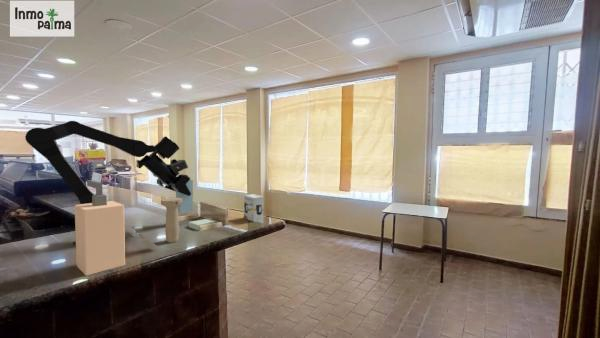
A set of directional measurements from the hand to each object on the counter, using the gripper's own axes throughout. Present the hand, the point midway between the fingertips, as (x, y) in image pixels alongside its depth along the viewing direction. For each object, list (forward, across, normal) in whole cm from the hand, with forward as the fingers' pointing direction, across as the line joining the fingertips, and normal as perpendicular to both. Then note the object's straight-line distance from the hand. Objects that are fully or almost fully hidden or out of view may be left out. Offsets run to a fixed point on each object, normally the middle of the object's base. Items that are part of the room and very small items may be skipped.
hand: (187, 194), depth 111 cm
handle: (0, -19, +19) cm, 27 cm away
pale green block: (+9, -9, +7) cm, 15 cm away
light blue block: (+4, 0, +6) cm, 7 cm away
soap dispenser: (-14, -20, +33) cm, 41 cm away
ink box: (+26, -13, -7) cm, 30 cm away
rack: (+12, -4, +6) cm, 14 cm away
